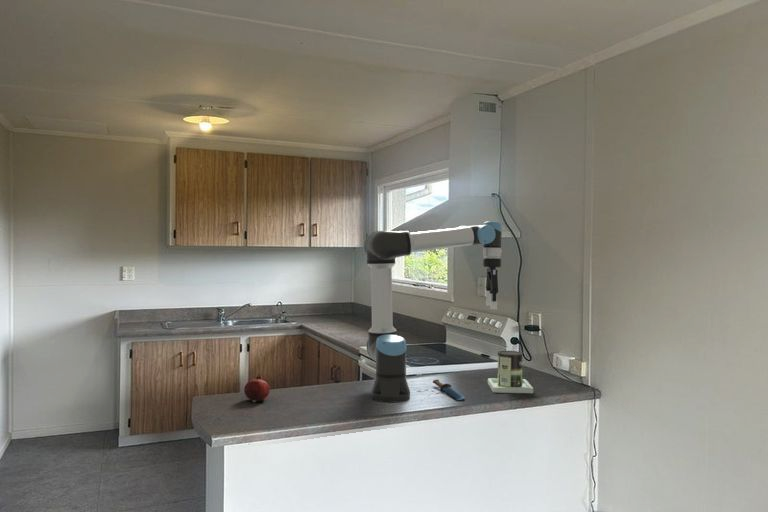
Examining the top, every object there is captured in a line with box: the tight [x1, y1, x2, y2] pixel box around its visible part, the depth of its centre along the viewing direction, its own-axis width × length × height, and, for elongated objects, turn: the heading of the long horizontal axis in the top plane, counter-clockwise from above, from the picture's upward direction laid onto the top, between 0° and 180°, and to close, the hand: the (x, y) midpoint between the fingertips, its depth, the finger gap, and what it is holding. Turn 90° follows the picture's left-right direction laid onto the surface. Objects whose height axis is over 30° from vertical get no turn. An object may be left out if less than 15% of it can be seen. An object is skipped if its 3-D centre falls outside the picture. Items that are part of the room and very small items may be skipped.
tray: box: [487, 377, 534, 394], centre depth 240 cm, size 16×16×2 cm
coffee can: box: [497, 350, 524, 387], centre depth 240 cm, size 10×10×14 cm
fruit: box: [243, 373, 270, 403], centre depth 217 cm, size 9×10×10 cm
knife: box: [432, 379, 465, 401], centre depth 231 cm, size 24×3×5 cm
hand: (491, 307), depth 247 cm, fingers open, 13 cm apart
